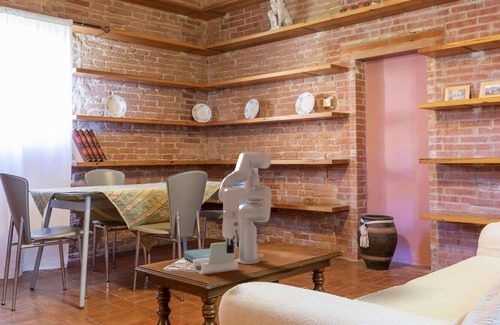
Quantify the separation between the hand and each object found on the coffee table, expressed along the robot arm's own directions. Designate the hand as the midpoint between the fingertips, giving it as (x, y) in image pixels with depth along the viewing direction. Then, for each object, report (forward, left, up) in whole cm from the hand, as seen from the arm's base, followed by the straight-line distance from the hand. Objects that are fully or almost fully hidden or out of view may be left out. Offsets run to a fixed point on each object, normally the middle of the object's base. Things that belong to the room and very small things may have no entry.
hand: (230, 252), depth 228 cm
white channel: (0, -15, -11) cm, 19 cm away
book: (-4, -34, -12) cm, 36 cm away
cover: (0, -8, -1) cm, 8 cm away
